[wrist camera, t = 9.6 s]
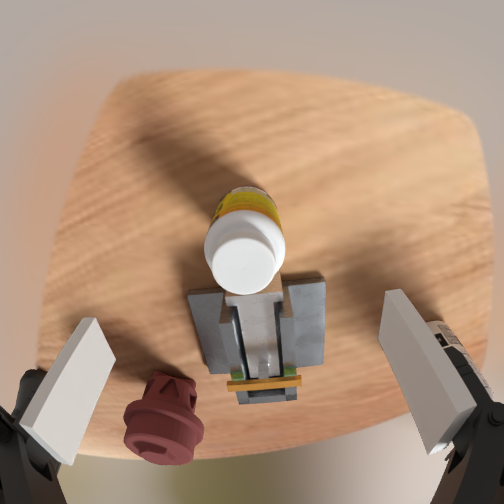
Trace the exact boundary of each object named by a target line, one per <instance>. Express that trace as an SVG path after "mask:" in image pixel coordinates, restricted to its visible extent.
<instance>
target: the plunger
mask: <svg viewBox="0 0 504 504" xmlns="http://www.w3.org/2000/svg"><path fill="white" fill-rule="evenodd" d="M225 299H226V304H227V306H237V308H238V313H239V319H240V324H241V330H242V335H243V341H244V346H245V351H246V357H247V362H248V367H249V372H250V377H251V378H257V377H259V379H254V380H238V381H227V388H228V392H232V391H250V390H264V389H275V388H286V387H295V386H301V375H296V376H287V377H277V378H269V376H280V369H279V358H278V347H277V336H276V326H275V315H274V305H273V302H279V301H283V290H282V284H281V277H280V271H278V272H276V274H275V275H274V277H273V279H272V281H271V282H270V283H269V284H268V285H267V286H266V287H265V288H264V289H262V290H261V291H259V292H256V293H253V294H247V295H240V294H235V293H232V292H229V291H227V290H226V294H225Z"/></svg>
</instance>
